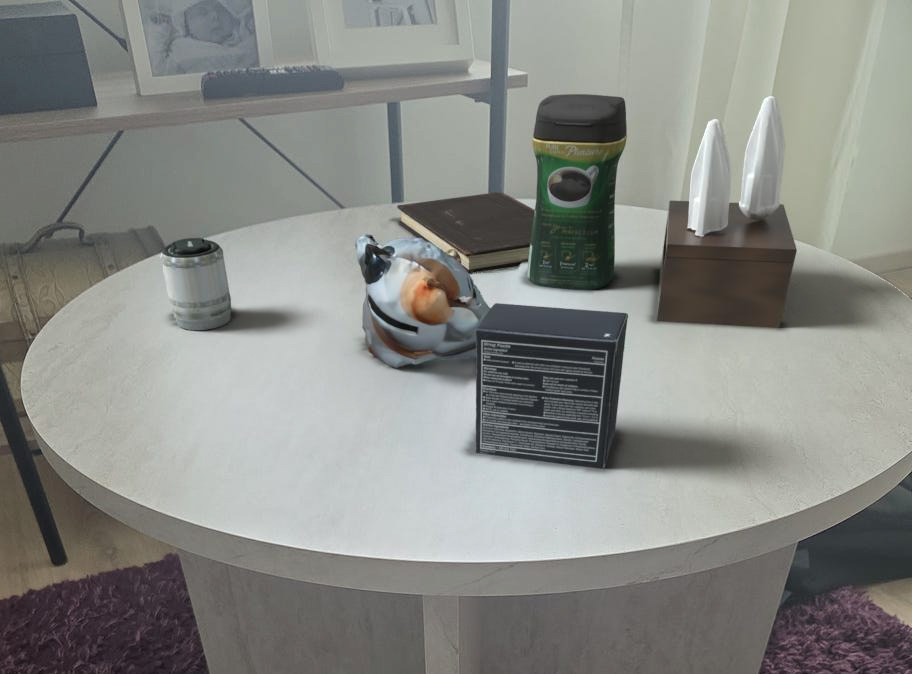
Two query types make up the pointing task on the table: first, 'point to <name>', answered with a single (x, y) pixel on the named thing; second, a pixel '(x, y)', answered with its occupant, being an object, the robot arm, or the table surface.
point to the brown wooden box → (726, 270)
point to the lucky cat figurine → (417, 302)
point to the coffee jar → (576, 190)
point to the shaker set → (758, 173)
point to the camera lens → (197, 283)
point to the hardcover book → (474, 228)
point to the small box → (548, 383)
